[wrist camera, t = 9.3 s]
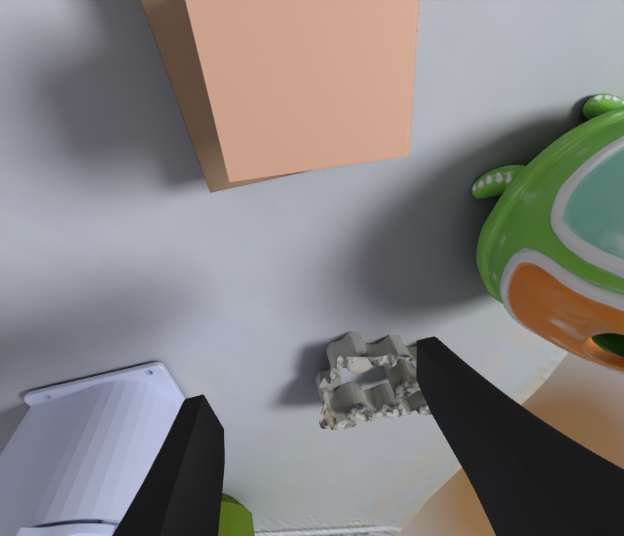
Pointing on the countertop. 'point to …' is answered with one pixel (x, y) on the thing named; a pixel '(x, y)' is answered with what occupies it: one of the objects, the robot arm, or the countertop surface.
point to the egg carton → (369, 403)
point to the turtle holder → (563, 238)
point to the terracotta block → (307, 81)
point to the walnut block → (190, 88)
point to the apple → (234, 518)
